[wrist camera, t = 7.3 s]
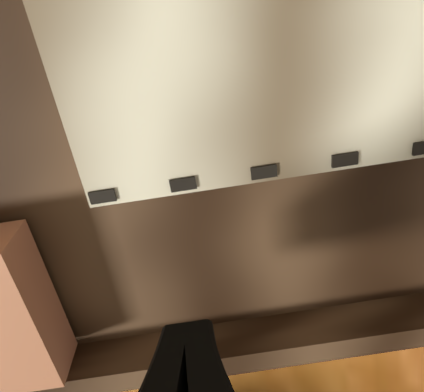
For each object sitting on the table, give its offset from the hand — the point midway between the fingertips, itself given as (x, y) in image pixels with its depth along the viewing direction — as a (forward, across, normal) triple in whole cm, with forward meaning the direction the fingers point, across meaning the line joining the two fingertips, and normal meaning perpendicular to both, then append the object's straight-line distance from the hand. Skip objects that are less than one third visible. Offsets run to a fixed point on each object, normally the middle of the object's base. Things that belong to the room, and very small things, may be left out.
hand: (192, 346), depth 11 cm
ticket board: (+5, -1, -3) cm, 6 cm away
